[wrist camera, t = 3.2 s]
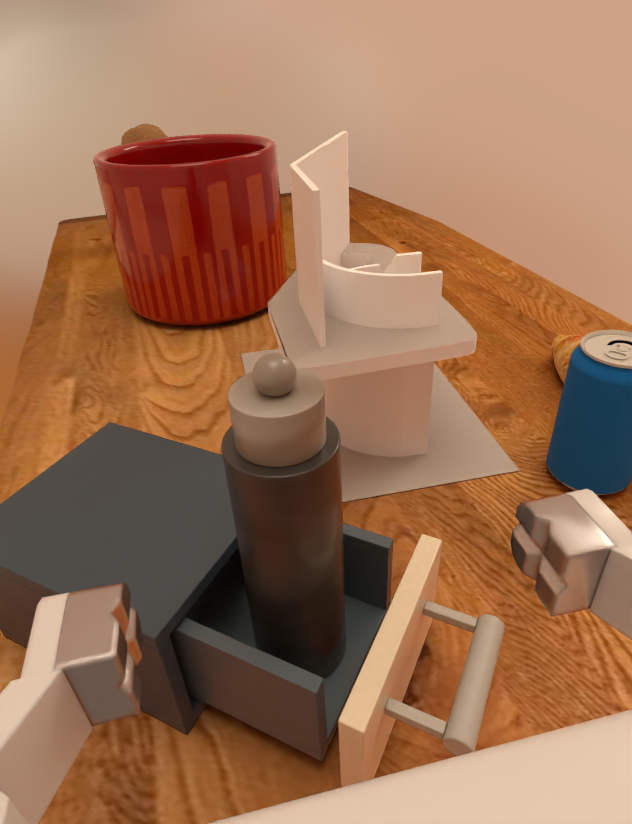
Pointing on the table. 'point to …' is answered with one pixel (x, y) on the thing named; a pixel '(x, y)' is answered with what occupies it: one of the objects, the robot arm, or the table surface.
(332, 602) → the pepper mill
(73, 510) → the cabinet
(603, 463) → the beverage can
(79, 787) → the table surface
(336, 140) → the architectural model
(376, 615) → the drawer
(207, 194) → the planter
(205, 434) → the table surface
